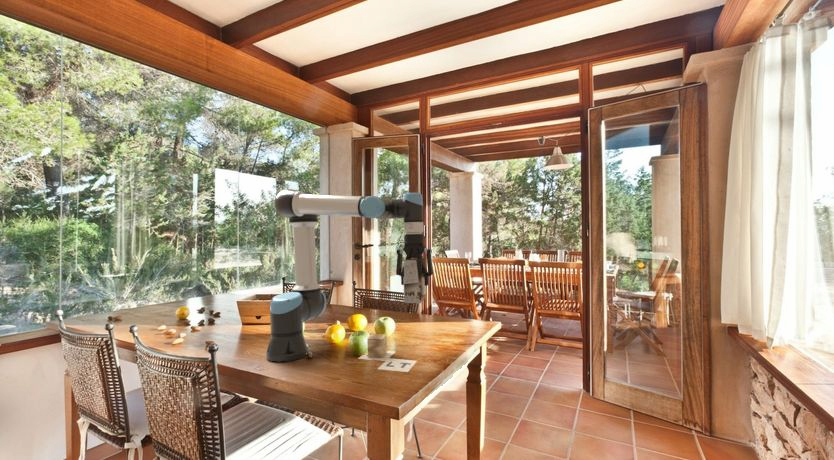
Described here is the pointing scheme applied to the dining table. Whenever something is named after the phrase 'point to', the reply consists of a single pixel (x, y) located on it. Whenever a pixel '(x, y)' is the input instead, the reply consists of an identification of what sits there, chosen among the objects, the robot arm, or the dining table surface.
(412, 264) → the coffee box
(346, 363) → the dining table surface
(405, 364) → the tile
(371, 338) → the oak block
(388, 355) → the code tile
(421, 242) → the robot arm
